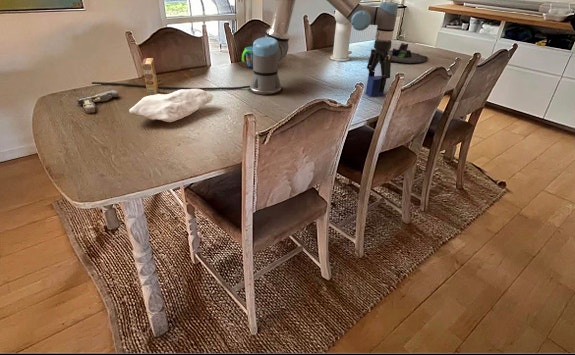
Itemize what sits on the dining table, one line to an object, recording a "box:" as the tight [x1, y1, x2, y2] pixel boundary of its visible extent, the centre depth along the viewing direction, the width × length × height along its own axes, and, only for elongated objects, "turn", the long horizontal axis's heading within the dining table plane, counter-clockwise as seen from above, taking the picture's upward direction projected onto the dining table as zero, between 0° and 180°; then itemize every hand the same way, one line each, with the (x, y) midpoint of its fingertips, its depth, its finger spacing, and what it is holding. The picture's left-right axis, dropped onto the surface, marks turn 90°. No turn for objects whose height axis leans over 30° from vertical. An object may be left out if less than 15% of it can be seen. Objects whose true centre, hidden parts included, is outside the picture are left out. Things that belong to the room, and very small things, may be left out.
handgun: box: [76, 89, 120, 114], centre depth 155 cm, size 3×18×15 cm
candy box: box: [141, 57, 160, 96], centre depth 163 cm, size 9×4×15 cm, turn 13°
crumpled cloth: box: [129, 89, 214, 123], centre depth 147 cm, size 24×35×9 cm
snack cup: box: [241, 45, 253, 69], centre depth 208 cm, size 16×10×10 cm
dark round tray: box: [388, 42, 428, 64], centre depth 240 cm, size 35×35×9 cm
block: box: [365, 75, 385, 98], centre depth 176 cm, size 5×7×8 cm
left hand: (375, 88), depth 177 cm, fingers open, 9 cm apart
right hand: (288, 0), depth 223 cm, fingers open, 9 cm apart
